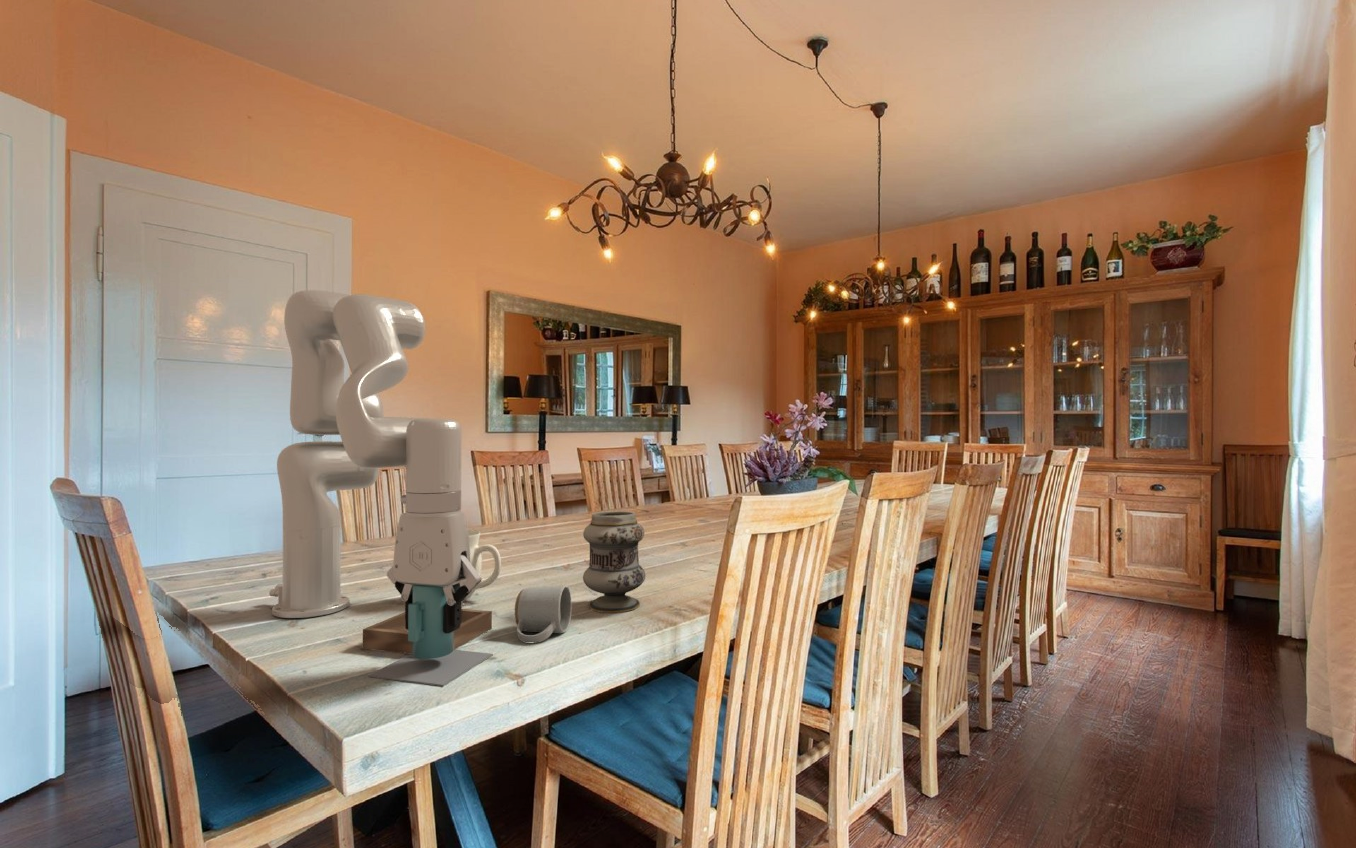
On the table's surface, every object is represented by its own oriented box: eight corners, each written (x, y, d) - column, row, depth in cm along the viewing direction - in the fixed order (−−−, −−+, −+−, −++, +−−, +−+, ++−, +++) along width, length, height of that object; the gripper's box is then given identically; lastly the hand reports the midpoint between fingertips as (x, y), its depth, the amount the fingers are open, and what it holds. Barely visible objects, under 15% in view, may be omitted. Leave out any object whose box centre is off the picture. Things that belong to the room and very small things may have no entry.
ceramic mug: (526, 623, 111) (526, 579, 111) (572, 624, 111) (572, 580, 111) (505, 644, 101) (505, 596, 101) (555, 646, 100) (555, 598, 100)
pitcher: (488, 608, 120) (488, 536, 120) (400, 604, 123) (401, 533, 123) (511, 593, 131) (511, 527, 131) (430, 590, 134) (430, 525, 134)
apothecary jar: (611, 594, 131) (611, 507, 131) (657, 603, 124) (658, 511, 124) (569, 607, 121) (569, 513, 121) (617, 618, 114) (617, 519, 114)
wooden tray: (362, 648, 98) (362, 629, 98) (421, 622, 112) (421, 605, 112) (440, 657, 95) (440, 637, 95) (491, 629, 108) (491, 611, 108)
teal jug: (428, 643, 95) (429, 577, 95) (461, 647, 93) (461, 579, 94) (394, 661, 88) (395, 589, 88) (429, 665, 86) (429, 592, 86)
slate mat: (368, 676, 87) (368, 675, 87) (424, 647, 99) (424, 646, 99) (443, 686, 84) (443, 684, 84) (492, 655, 96) (492, 653, 96)
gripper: (365, 504, 90) (364, 631, 90) (470, 509, 86) (470, 643, 86) (401, 499, 98) (400, 616, 97) (500, 502, 93) (499, 626, 93)
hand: (433, 627), depth 92 cm, fingers closed on teal jug, 5 cm apart
